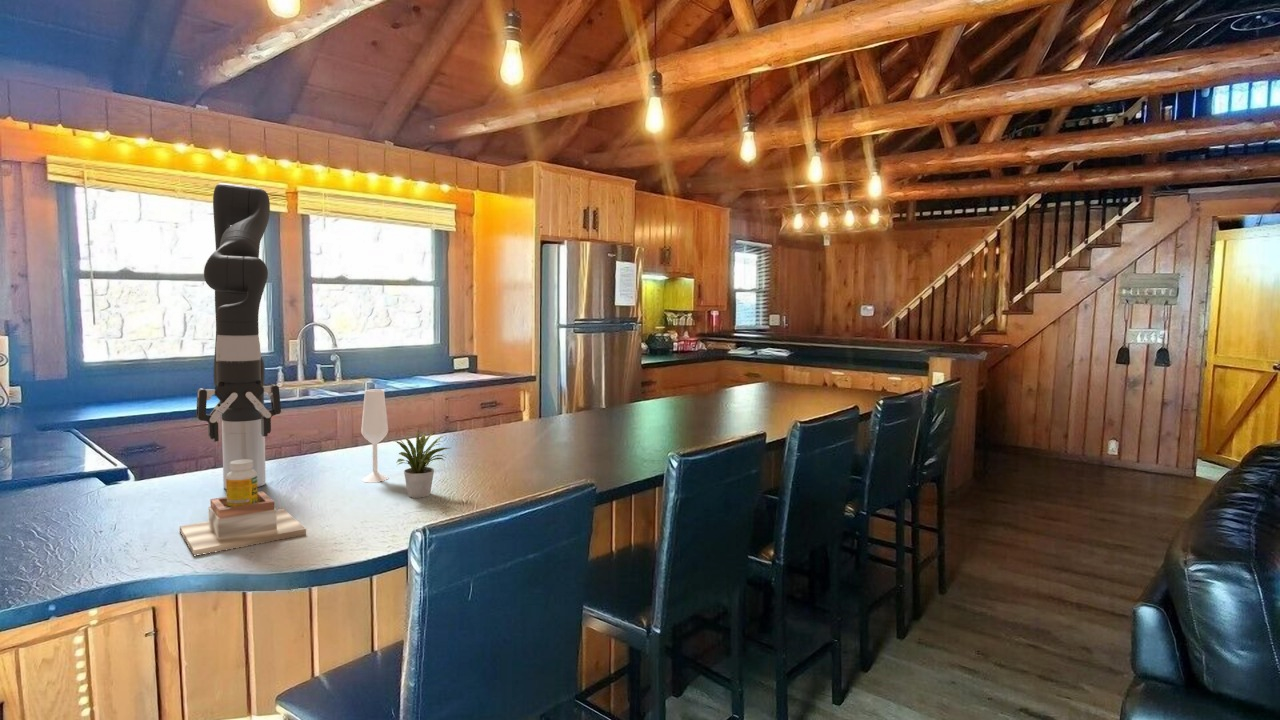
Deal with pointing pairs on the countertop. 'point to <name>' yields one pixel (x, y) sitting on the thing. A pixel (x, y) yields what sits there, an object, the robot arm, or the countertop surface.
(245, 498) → the supplement bottle
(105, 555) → the countertop surface
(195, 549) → the tower base
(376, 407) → the champagne flute
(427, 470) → the house plant
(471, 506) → the countertop surface
